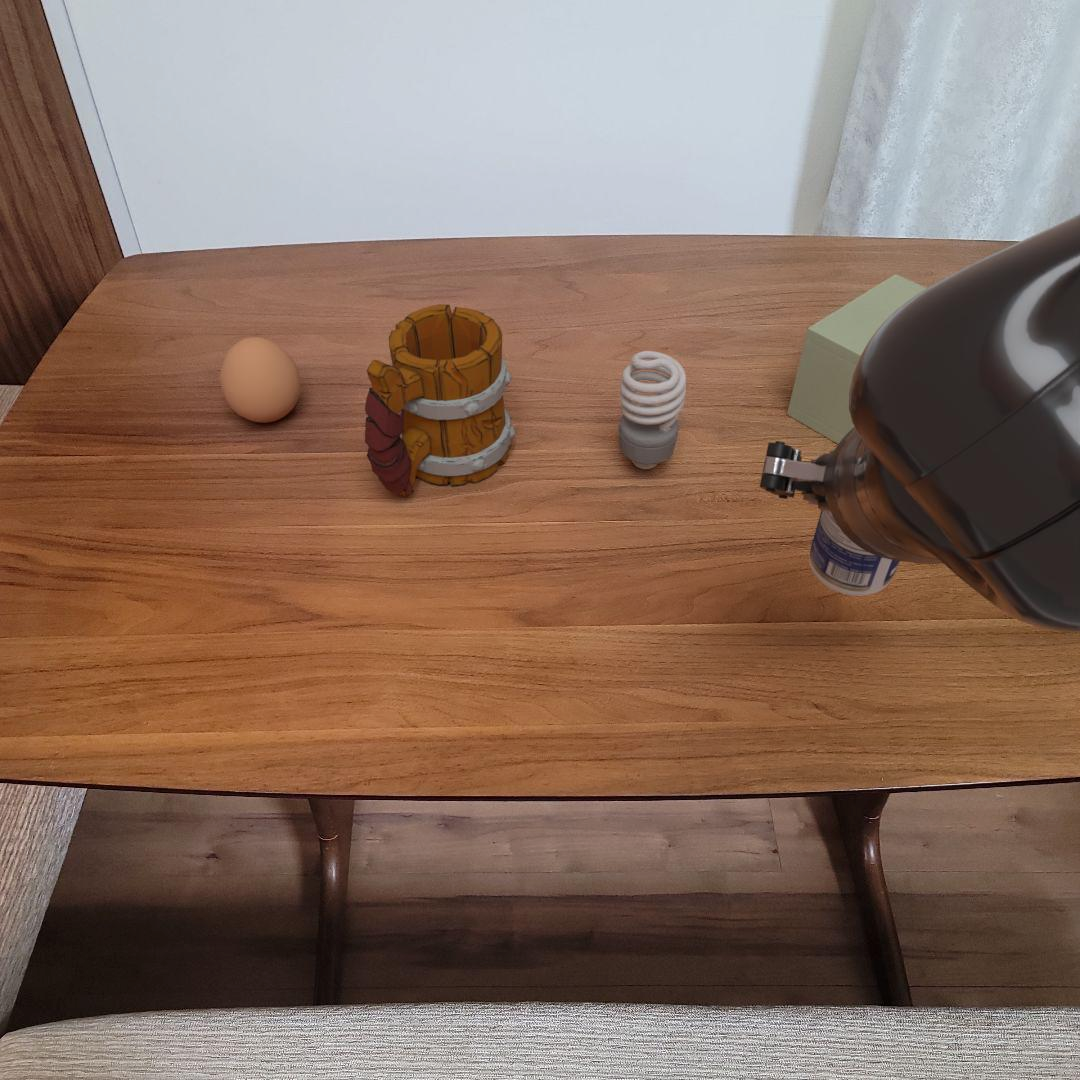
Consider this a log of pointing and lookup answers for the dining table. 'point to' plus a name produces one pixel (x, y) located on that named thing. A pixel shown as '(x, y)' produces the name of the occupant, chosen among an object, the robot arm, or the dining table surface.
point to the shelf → (841, 356)
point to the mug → (439, 401)
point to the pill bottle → (847, 561)
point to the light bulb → (650, 408)
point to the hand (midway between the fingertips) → (868, 495)
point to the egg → (260, 380)
